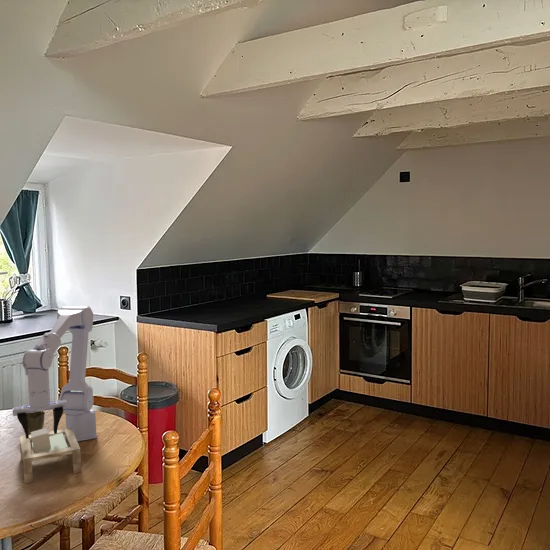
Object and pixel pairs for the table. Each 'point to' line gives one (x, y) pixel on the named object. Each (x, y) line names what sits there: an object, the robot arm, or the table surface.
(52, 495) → the table surface
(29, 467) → the stand
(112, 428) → the table surface
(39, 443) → the beige cube
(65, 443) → the flap
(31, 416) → the cup
